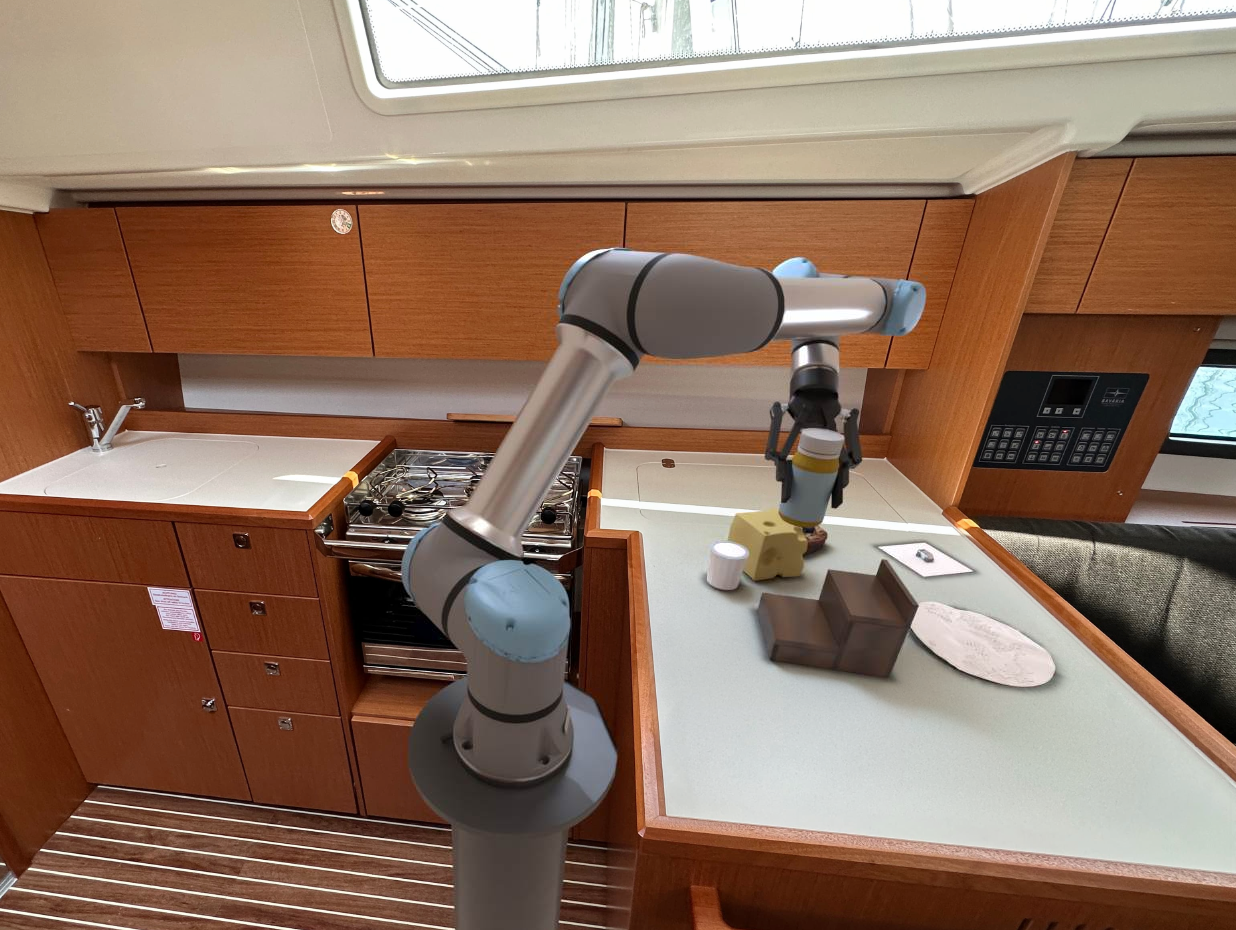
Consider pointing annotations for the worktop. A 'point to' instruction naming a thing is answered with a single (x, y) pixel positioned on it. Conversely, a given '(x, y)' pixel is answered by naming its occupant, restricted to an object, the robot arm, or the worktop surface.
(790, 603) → the step rack
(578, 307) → the robot arm
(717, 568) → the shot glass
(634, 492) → the worktop surface
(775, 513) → the cheese
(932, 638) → the plaque
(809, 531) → the pastry
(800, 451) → the bottle
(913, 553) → the white paper sheet
